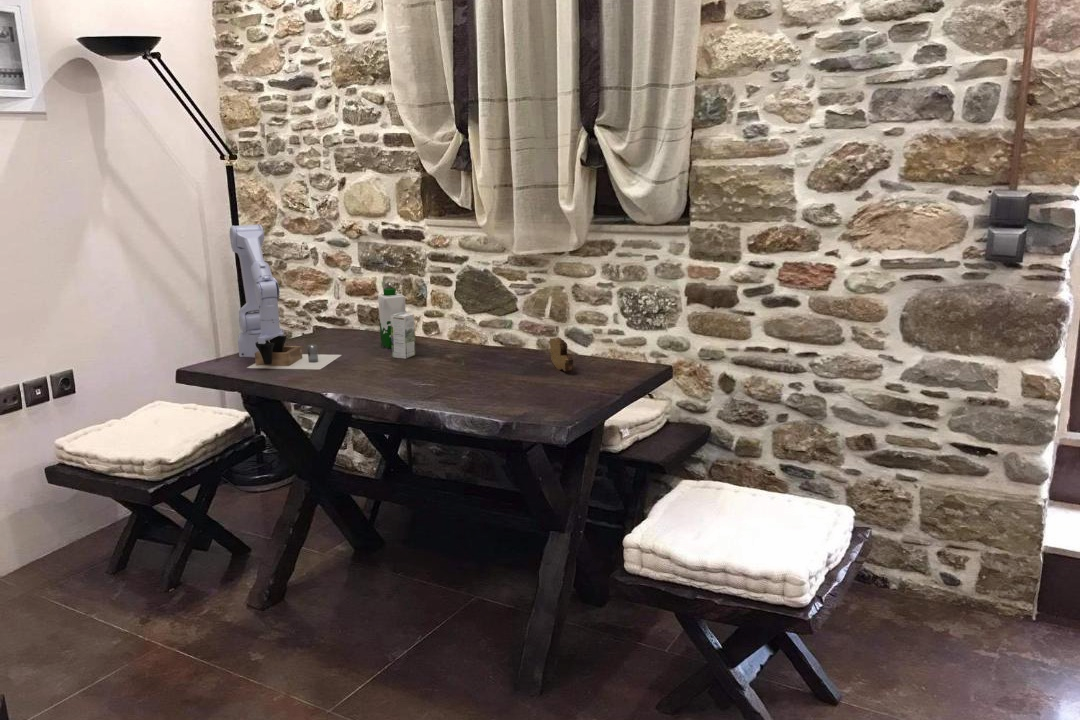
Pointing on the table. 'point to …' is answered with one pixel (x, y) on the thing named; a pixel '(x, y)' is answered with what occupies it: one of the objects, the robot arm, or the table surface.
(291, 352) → the square collar
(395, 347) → the syrup box
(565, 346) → the wooden carving
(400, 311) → the milk carton
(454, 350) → the table surface
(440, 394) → the table surface
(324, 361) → the post board
